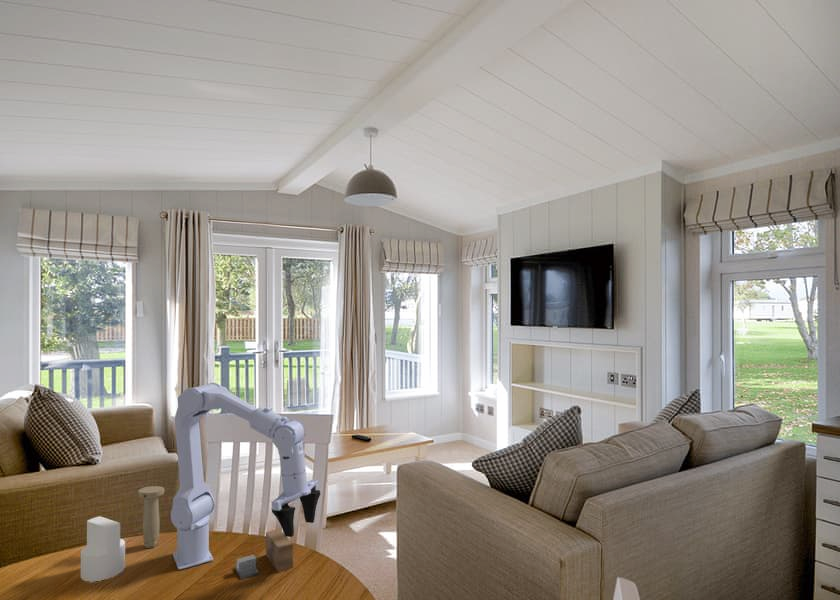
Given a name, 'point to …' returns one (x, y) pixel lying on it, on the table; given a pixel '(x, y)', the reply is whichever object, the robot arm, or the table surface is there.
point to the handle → (151, 514)
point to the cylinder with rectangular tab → (102, 550)
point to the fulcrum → (246, 566)
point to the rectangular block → (279, 550)
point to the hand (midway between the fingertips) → (299, 528)
